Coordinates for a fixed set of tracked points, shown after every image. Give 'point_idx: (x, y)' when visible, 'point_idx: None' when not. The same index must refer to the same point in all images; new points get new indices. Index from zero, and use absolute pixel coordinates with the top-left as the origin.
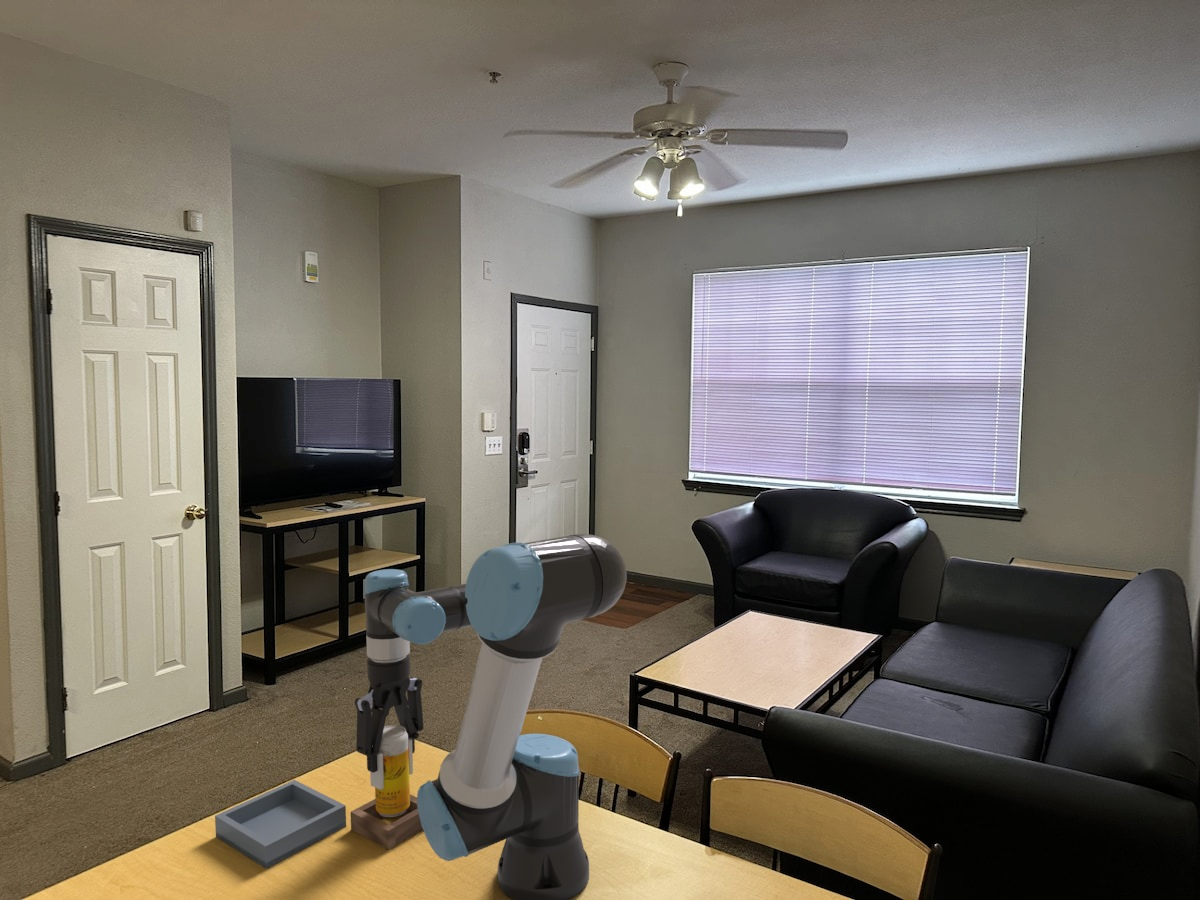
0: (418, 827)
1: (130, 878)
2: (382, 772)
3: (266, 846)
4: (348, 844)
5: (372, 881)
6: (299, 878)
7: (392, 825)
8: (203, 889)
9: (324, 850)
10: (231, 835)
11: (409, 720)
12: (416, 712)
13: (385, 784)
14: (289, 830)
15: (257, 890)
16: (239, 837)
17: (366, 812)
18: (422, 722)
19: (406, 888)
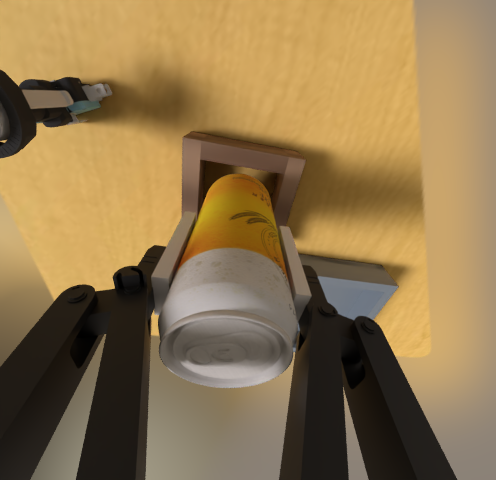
0: (229, 140)
1: (411, 341)
2: (289, 250)
3: (396, 285)
4: (305, 218)
5: (390, 110)
6: (395, 220)
7: (286, 165)
8: (426, 289)
9: (328, 236)
10: None
11: (119, 364)
12: (35, 392)
13: (276, 227)
14: (355, 287)
15: (425, 245)
16: None
17: None
18: (49, 314)
19: (406, 16)
